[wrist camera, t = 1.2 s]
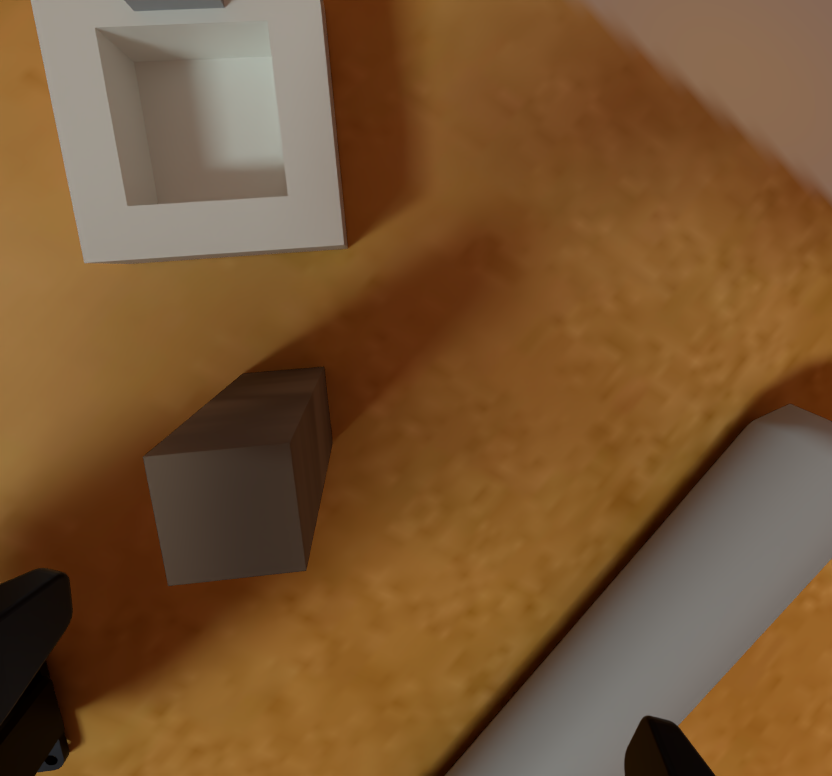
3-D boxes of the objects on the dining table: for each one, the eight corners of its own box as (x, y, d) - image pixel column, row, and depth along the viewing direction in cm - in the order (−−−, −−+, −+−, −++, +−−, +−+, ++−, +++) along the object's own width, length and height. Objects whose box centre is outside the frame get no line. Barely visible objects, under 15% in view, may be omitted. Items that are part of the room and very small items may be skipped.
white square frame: (129, 263, 19) (65, 262, 15) (83, 18, 17) (-3, -57, 13) (347, 248, 19) (342, 243, 15) (324, 8, 17) (311, -67, 14)
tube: (818, 380, 18) (372, 893, 21) (963, 482, 17) (482, 997, 20) (747, 381, 23) (399, 788, 26) (856, 458, 22) (487, 869, 25)
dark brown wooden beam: (253, 450, 20) (168, 586, 12) (242, 373, 20) (142, 456, 11) (332, 442, 21) (306, 570, 12) (324, 366, 20) (289, 443, 11)
